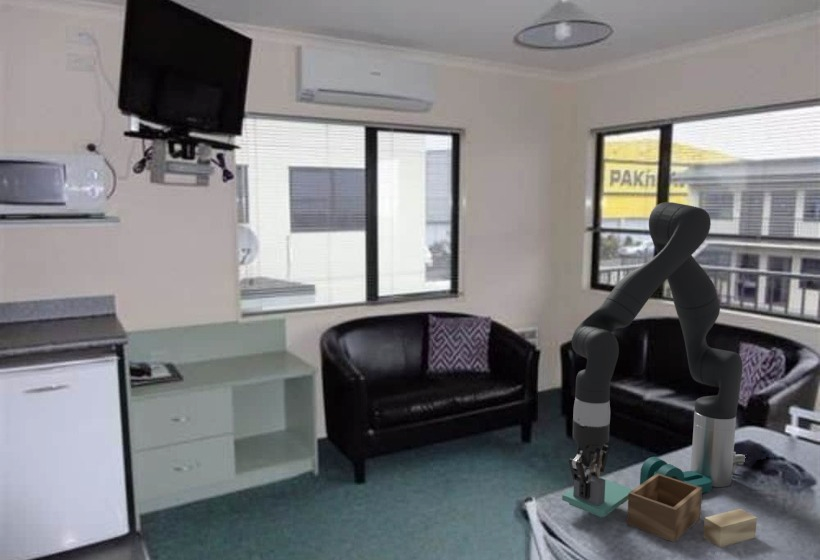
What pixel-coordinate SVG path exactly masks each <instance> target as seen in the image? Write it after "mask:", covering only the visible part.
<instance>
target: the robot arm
mask: <svg viewBox="0 0 820 560" xmlns="http://www.w3.org/2000/svg"><path fill="white" fill-rule="evenodd" d="M711 225H712V224H711V217H710V215H709V213H708V212H707V211H706V210H705V209H704V208H702V207H697V206H694V205H693V206H692V205H689V204H684V203H678V202H671V201H670V202H669V201H667V202H666V201H665V202H661V203H659V204H656V205H655V206H654V207H653V209H652V210H651V212H650V214H649V218H648V231H649V235H650V239H651V240H652V243H653V245H654V247H655V250H656V252H657V254H656V255H655V256H653V257H652V258H651V259H650V260H648V261H647V262H645V263H644V264H641V265H640V266H638V267H637V268H635V269H634V270H632V271H630V272H629V273H628V274H626V275H625V276H623V278H621V279H620V280H619V281H618V283H617V284H615V286H614V288H613V289H612V290H611V291H610V293H609V294H608V295H607V296H606V298H605V300H604V301H603V303H601V305H599V307H597V308H596V309H595V310H594V311H593V312H592V313H590V314H589V315H588V316H587V317H586V318H585V319H584V320H582V321H581V323H579V325H578V326H577V327H576V328H575V330H574V332H573V334H572V338H571V346H572V350H573V351H574V352H575V353H576V354H578V355H579V356H580V357H583V358H585V359H586V366H585V369H582V370H579V371H578V373H577V375H576V377H575V378H576V379H575V393H574V394H575V395H574V396H575V397H574V399H575V400H574V401H573V402H574V404H573V415H572V416H573V418H572V438H573V440H574V441H575V442H576V444H577V448H576V456H575V457H574V458H572V457H570V458H569V460H568V465H569V467H570V472H571V475H572V479H573V481H574V480H575V481H579V482H580V485H579V496H580V497H581V498H584V499H586V500H587V499H589V498H590V481H591V475H593V476H596V477H600V478H601V473H604V471H605V469H606V468H605V467H606V464H607V460H608V457H609V453H610V448H611V447H610V446H609V445H608V443H609V441H610V421H611V406H610V404H611V403H610V399H611V398H610V395H611V380H612V377H613V376H614V373H615V368H616V365H617V362H618V358H619V353H620V351H619V350H620V348H619V342H618V340H617V337H616V336H615V334H613V332H614V331H615V330H617V329H621V328H622V329H625V328H626V327H628V326H630V325H631V324H632V323H633V322H634V320H635V319H636V317H637V316H638V314H639V313H640V312H641V311H642V309H643V308H644V306H645V305H646V303H647V302H648V301H649V300H650V298H651V297H652V295H653V294H654V293H655V292H656V291H657V290H658V289H659V287H661V286H662V284H663V283H664V282H665V281H666V280H667V283H668V285H669V288H670V292H671V297H672V301H673V304H674V307H675V308H674V309H675V311H676V314H677V317H678V321H679V323H680V327H681V330H682V335H683V340H684V345H685V350H686V356H687V364H688V368H689V372H690V375H691V377H692V379H693V380H694V381H695V382H697V383H699V384H701V385H706V386H710V387H715V388H719V389H718V393H717V394H716V395H707V396H701V397H698V398H697V399H696V400H695V403H694V414H693V432H692V444H691V445H692V446H691V463H690V471H695V472H697V473H699V474H701V475H704V476H707V477H711V478H712V488H713V487H715V488H725V487H729V486H730V485H732V478H733V474H732V468H733V454H734V452H735V450H734V449H735V439H736V420H737V410H738V406H739V401H740V400H739V399H740V390H741V389H740V388H741V383H742V382H741V381H742V377H743V376H742V375H743V360H742V357H741V355H740V354H739V353H737V352H735V351H731V350H724V349H718V348H713V347H710V346H709V345H708V343H707V339H706V337H707V334H708V333H709V332H710V330H711V329H712V328H713V326H714V324H715V323H716V322H717V319H718V318H719V315H720V312H721V307H720V301H719V298H718V293H717V289H716V287H715V284H714V283H713V281H712V279H711V278H710V276H709V275H708V273H707V272H706V271H705V270H704V268H703V267H702V265H700V264H699V262H698V261H697V260H696V259H695V258H694V256H693V254H694V253H695V252H696V251H697V250H698V249H699V247H701V246H702V244H703V243H704V242H705V240H706V238H707V237H708V235H709V232H710V230H711ZM585 473H587V474H586V476H585Z"/></svg>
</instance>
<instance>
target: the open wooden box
mask: <svg viewBox="0 0 820 560" xmlns="http://www.w3.org/2000/svg"><path fill="white" fill-rule="evenodd" d="M633 489H634V490H632V491H631V492H629V494H628V500H627V516H626V517H627V519H626V520H627V521H626V524H627V525H628V526H629V525H630V526H631V525H632V527H634V528H636V529H639V530H641V531H644V532H647V533H650V534H652V535H654V536H657V537H659V538H662V539H664V540H666V541H670V542H671V543H675V542H676V541H677V540H679V539H680V538H681V536H682V535H683V534H685V533H686V532H687V531H688V530H689V529H690V528H691V527H693V525H694V524H695V523H697V521H699V520H700V519H701V511H702V498H703V495H702V494H703V493H702V488H701V487H698V486H695V485H692V484H689V483H686V482H683V481H680V480H677V479H674V478H671V477H667V476H664V475H661V474H658V473H657V474H655V475H654V476H652V477H651V478H649V479H648V480H647V481H645V482H644V483H642V484H641V485H640V484H639V485H638V486H636V487H635V488H633Z"/></svg>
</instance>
